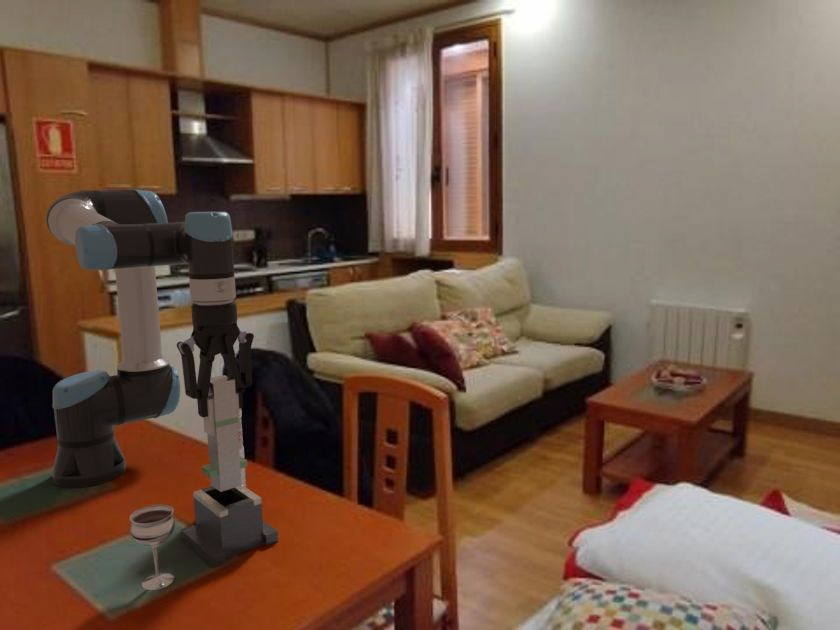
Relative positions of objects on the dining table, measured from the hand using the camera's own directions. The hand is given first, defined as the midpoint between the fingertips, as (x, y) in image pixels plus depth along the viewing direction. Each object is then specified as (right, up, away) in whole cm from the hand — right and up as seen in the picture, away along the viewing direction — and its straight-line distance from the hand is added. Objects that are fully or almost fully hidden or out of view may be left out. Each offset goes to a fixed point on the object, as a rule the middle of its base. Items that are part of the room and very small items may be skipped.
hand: (222, 429), depth 116 cm
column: (0, -11, +2) cm, 11 cm away
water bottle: (-3, -19, +17) cm, 26 cm away
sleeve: (0, -21, +4) cm, 22 cm away
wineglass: (-8, -24, -9) cm, 27 cm away
